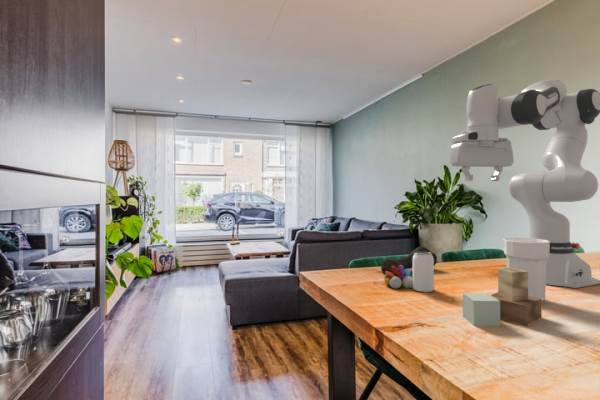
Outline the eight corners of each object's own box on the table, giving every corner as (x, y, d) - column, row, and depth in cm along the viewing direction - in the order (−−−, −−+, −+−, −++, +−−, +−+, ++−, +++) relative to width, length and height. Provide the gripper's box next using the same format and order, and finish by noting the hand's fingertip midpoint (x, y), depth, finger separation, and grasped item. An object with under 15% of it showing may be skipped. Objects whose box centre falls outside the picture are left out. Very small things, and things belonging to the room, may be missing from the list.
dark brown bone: (423, 270, 143) (386, 291, 125) (411, 248, 146) (373, 265, 128) (444, 262, 135) (408, 282, 117) (431, 239, 138) (393, 255, 120)
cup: (494, 296, 100) (494, 238, 100) (518, 291, 104) (518, 236, 104) (533, 307, 89) (533, 243, 89) (558, 301, 94) (558, 241, 94)
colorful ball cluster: (380, 283, 116) (380, 262, 116) (407, 282, 117) (407, 262, 117) (389, 290, 107) (389, 268, 107) (418, 289, 108) (417, 267, 108)
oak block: (513, 294, 86) (513, 267, 86) (528, 299, 81) (528, 271, 81) (498, 295, 85) (498, 268, 85) (512, 300, 81) (512, 272, 81)
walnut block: (502, 308, 90) (502, 290, 90) (541, 318, 82) (541, 298, 82) (486, 316, 84) (486, 296, 84) (526, 327, 77) (526, 305, 77)
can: (435, 293, 103) (435, 255, 103) (414, 292, 104) (413, 254, 104) (431, 287, 110) (431, 251, 109) (411, 286, 111) (411, 251, 111)
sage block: (487, 316, 83) (487, 293, 83) (500, 326, 77) (500, 301, 77) (462, 316, 83) (462, 293, 83) (473, 326, 77) (473, 300, 77)
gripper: (502, 139, 109) (502, 181, 109) (447, 138, 105) (447, 181, 105) (518, 136, 102) (518, 180, 103) (460, 134, 99) (460, 180, 99)
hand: (482, 180), depth 104 cm, fingers open, 8 cm apart
